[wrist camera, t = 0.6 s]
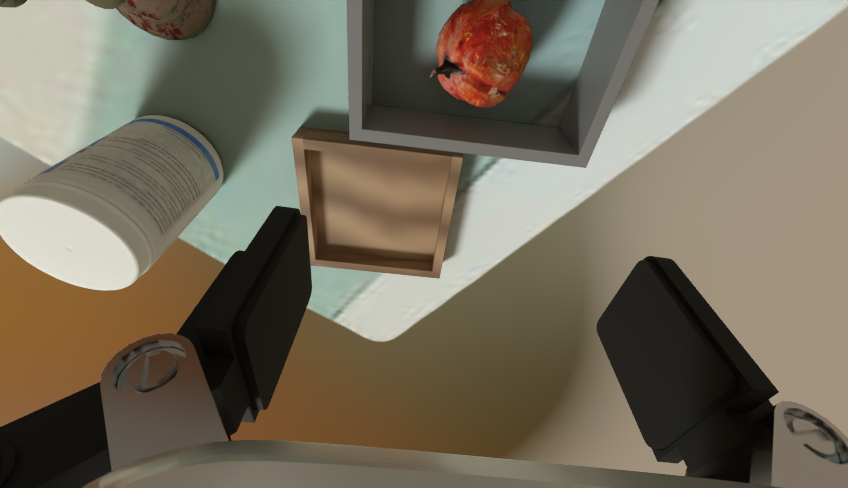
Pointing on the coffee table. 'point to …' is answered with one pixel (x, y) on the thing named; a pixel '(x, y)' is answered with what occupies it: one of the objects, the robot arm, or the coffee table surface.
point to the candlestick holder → (157, 15)
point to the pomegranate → (483, 51)
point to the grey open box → (566, 145)
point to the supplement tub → (113, 203)
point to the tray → (375, 202)
